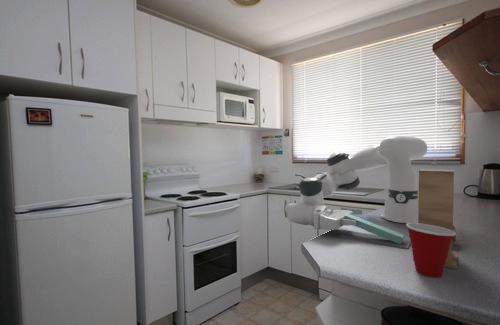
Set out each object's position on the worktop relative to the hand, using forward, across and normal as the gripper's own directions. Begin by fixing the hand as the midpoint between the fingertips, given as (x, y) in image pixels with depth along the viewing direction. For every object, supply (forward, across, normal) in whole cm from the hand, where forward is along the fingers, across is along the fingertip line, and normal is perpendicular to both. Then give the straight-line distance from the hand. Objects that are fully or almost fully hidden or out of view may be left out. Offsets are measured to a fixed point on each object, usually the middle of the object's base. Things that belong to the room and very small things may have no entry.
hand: (358, 221), depth 101 cm
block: (+4, 0, -3) cm, 5 cm away
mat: (+6, 0, -6) cm, 8 cm away
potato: (+25, -11, -6) cm, 28 cm away
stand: (+24, +9, -6) cm, 26 cm away
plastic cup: (+24, +21, -6) cm, 32 cm away
